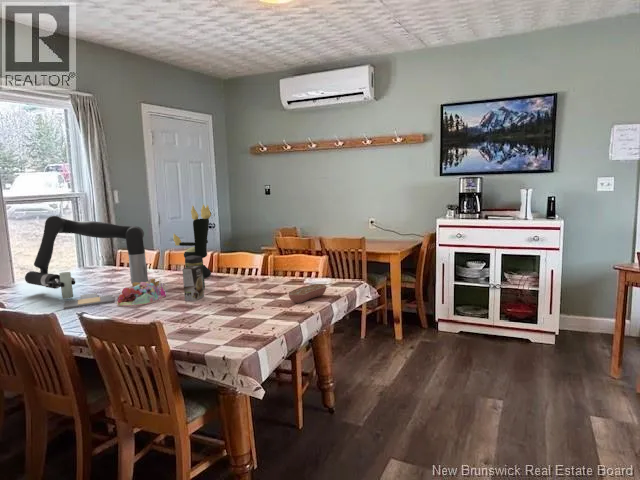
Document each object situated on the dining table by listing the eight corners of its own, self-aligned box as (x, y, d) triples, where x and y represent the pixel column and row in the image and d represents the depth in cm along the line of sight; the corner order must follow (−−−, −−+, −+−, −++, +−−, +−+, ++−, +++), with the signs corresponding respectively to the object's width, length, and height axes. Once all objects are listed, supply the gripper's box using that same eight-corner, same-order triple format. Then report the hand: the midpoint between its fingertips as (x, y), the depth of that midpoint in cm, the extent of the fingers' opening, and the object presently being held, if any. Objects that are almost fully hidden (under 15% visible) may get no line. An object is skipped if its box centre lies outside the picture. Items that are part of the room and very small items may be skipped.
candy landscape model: (116, 297, 236) (114, 280, 235) (164, 291, 245) (162, 274, 244) (117, 309, 213) (115, 290, 212) (169, 301, 223) (167, 283, 222)
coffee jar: (207, 288, 246) (205, 255, 243) (196, 291, 239) (193, 257, 237) (196, 286, 251) (193, 253, 249) (184, 289, 245) (181, 256, 243)
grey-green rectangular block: (73, 295, 238) (70, 271, 236) (73, 297, 233) (70, 273, 231) (62, 297, 235) (59, 272, 233) (62, 299, 231) (59, 274, 229)
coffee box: (196, 301, 220) (193, 268, 218) (184, 301, 222) (181, 268, 220) (204, 296, 229) (202, 265, 227) (193, 296, 231) (190, 265, 228)
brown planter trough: (299, 306, 204) (299, 295, 204) (283, 303, 210) (283, 293, 210) (330, 295, 222) (329, 285, 221) (314, 292, 228) (314, 283, 227)
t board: (111, 292, 245) (111, 290, 245) (114, 302, 225) (113, 299, 225) (65, 299, 235) (65, 296, 235) (63, 309, 215) (63, 307, 215)
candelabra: (200, 272, 291) (195, 202, 285) (224, 275, 278) (219, 202, 272) (175, 278, 276) (169, 204, 270) (199, 282, 263) (193, 204, 257)
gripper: (36, 276, 234) (53, 279, 225) (64, 271, 246) (81, 273, 237) (38, 290, 235) (55, 294, 226) (66, 284, 247) (83, 287, 238)
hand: (68, 283), depth 232 cm, fingers closed on grey-green rectangular block, 5 cm apart
